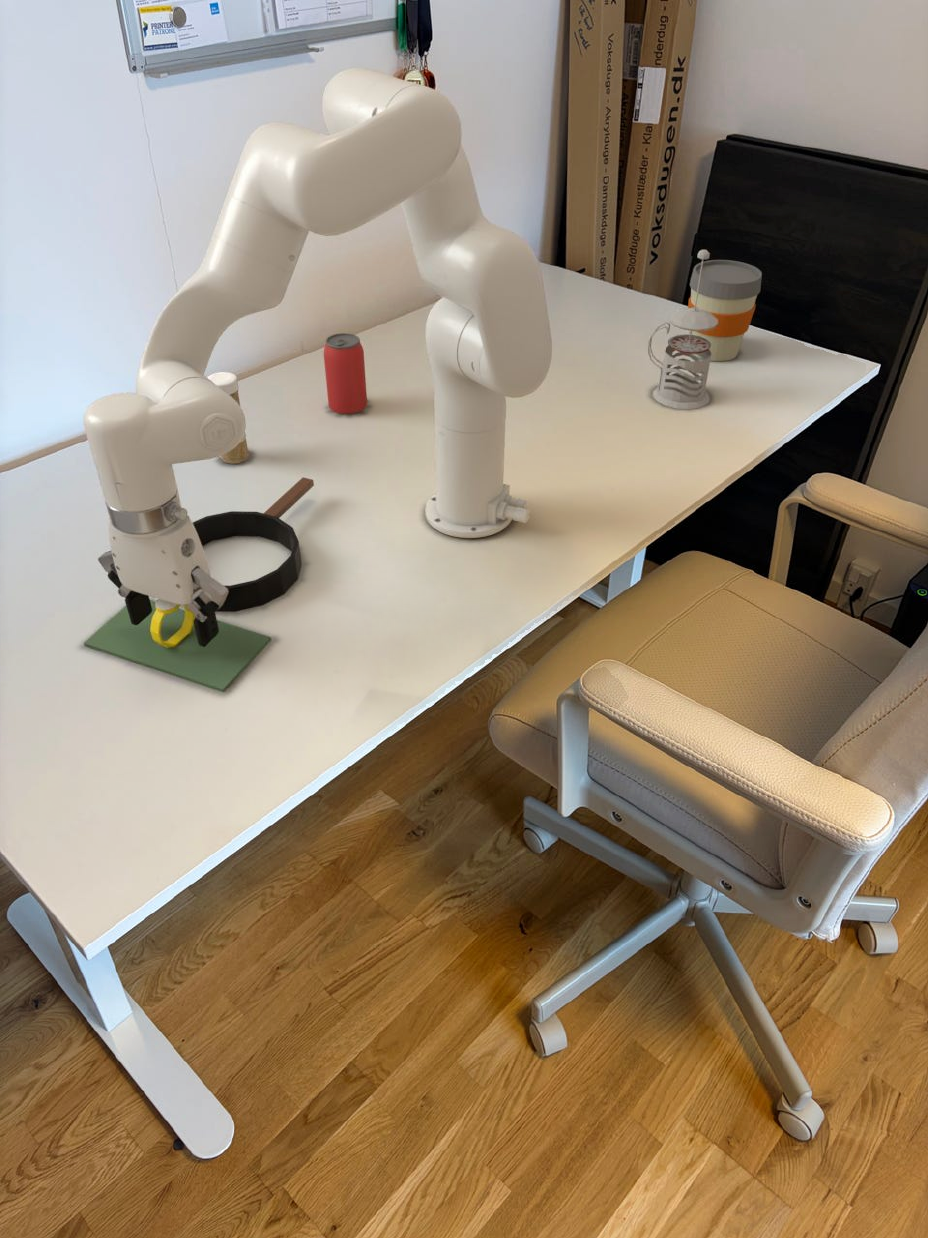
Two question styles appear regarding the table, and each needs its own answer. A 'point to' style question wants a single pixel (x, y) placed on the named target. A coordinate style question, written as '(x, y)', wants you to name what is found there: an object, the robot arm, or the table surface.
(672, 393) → the french press
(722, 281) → the reusable coffee cup
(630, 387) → the table surface
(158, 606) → the watch
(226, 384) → the sprinkles bottle
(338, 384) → the beer can
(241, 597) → the pan
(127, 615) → the mat
